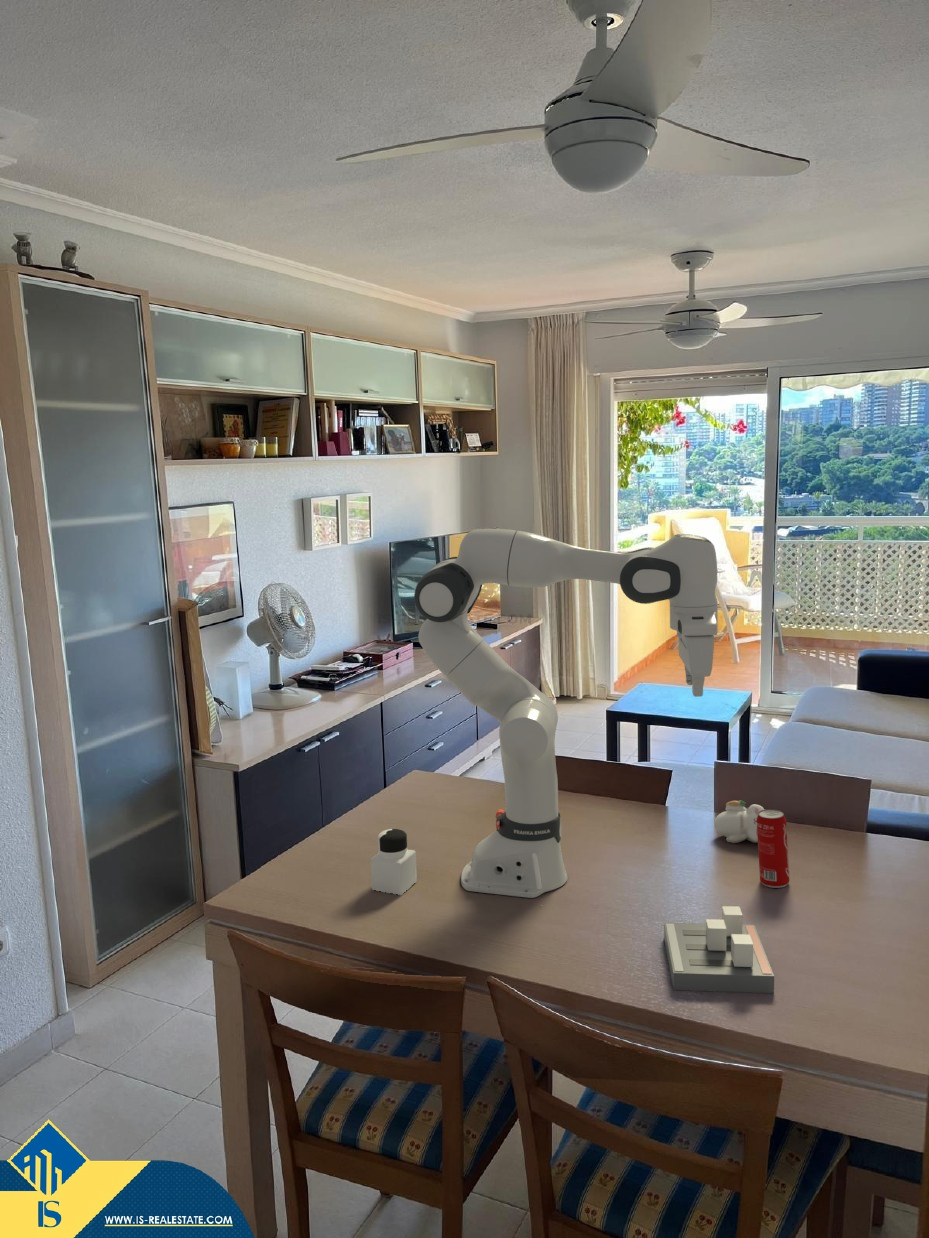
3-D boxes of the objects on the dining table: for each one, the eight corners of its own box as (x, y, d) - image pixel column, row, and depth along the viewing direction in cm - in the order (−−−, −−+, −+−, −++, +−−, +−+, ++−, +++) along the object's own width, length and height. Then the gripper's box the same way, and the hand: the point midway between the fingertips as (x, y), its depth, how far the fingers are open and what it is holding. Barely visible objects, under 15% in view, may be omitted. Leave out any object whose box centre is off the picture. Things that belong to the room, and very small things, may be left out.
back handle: (724, 935, 160) (724, 914, 159) (721, 927, 163) (722, 906, 163) (742, 936, 160) (742, 915, 159) (739, 927, 163) (739, 906, 162)
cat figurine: (710, 798, 210) (778, 797, 204) (717, 805, 217) (783, 805, 211) (711, 840, 207) (780, 841, 200) (718, 846, 213) (785, 847, 207)
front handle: (734, 966, 150) (734, 943, 150) (731, 956, 153) (731, 933, 153) (752, 966, 150) (753, 944, 149) (749, 956, 153) (749, 934, 152)
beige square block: (708, 950, 156) (708, 928, 155) (705, 940, 159) (705, 919, 158) (726, 950, 155) (726, 928, 155) (723, 941, 158) (723, 919, 158)
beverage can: (791, 889, 184) (792, 819, 181) (757, 888, 185) (758, 817, 183) (787, 877, 189) (788, 808, 187) (754, 875, 191) (755, 807, 188)
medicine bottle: (417, 881, 194) (415, 828, 192) (401, 896, 188) (398, 840, 186) (388, 876, 197) (385, 823, 195) (371, 890, 191) (368, 836, 189)
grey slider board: (673, 989, 150) (673, 972, 150) (664, 937, 167) (663, 922, 166) (774, 993, 148) (774, 975, 148) (754, 940, 165) (754, 924, 164)
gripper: (670, 611, 185) (671, 678, 187) (683, 628, 164) (684, 703, 167) (702, 610, 184) (703, 677, 186) (719, 627, 164) (719, 702, 166)
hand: (694, 689), depth 176 cm, fingers open, 8 cm apart
